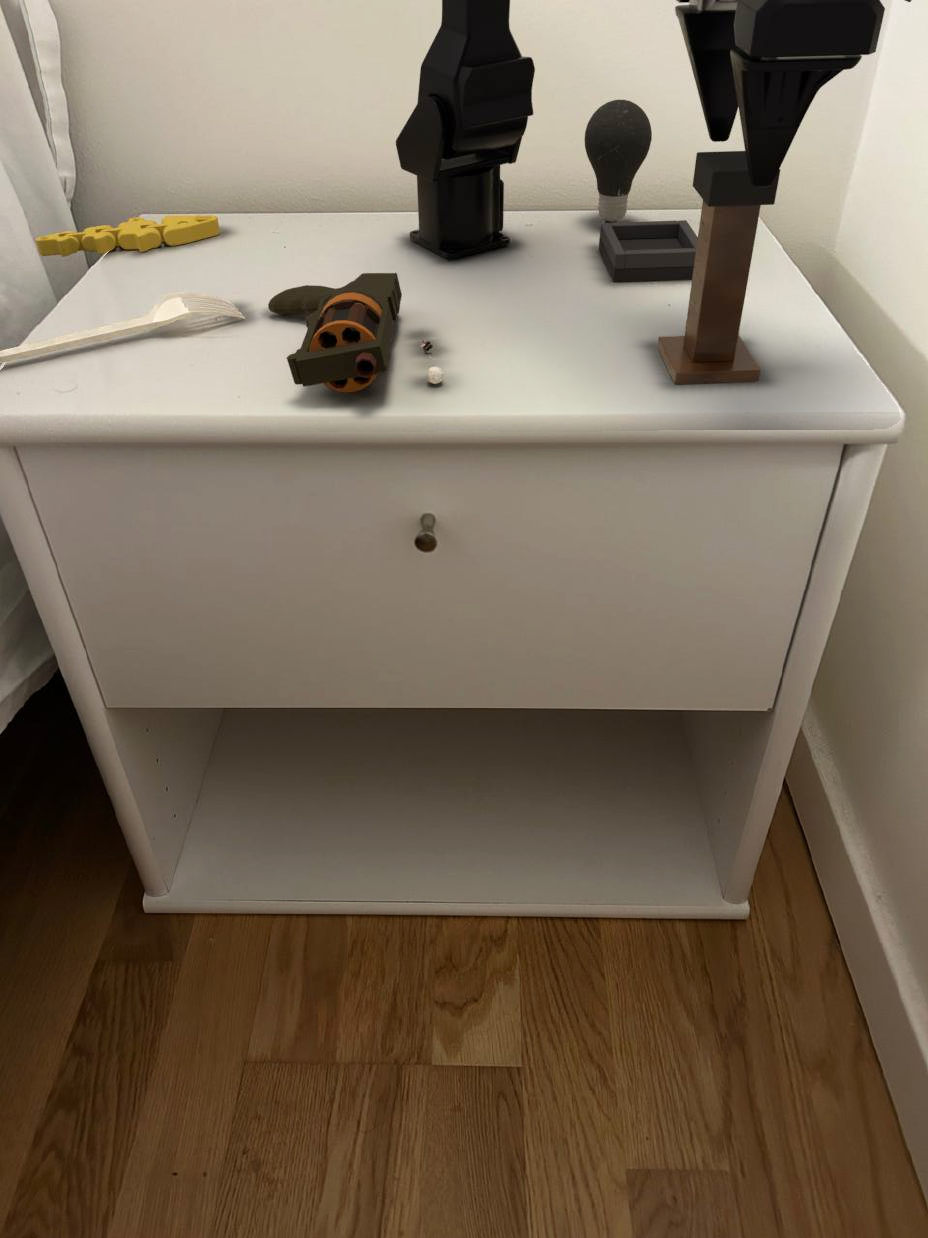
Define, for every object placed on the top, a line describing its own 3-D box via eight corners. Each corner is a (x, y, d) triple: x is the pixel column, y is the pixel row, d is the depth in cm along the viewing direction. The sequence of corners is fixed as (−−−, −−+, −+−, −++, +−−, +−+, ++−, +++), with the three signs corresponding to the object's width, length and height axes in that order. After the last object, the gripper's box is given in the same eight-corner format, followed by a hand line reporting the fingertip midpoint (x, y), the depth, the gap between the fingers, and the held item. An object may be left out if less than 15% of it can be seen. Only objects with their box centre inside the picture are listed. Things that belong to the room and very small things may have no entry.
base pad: (613, 281, 80) (615, 253, 78) (598, 249, 85) (600, 222, 84) (703, 278, 80) (707, 250, 78) (683, 246, 85) (686, 219, 84)
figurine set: (447, 379, 66) (433, 389, 66) (432, 333, 72) (419, 342, 73) (436, 364, 65) (422, 375, 66) (421, 319, 72) (409, 328, 72)
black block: (707, 207, 60) (712, 171, 58) (692, 185, 63) (696, 151, 61) (774, 204, 60) (780, 169, 59) (755, 183, 63) (761, 149, 62)
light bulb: (653, 229, 88) (667, 104, 82) (594, 237, 87) (603, 111, 81) (626, 209, 93) (637, 89, 86) (569, 217, 91) (576, 95, 85)
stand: (674, 384, 66) (697, 211, 59) (657, 347, 70) (676, 182, 63) (759, 381, 66) (792, 208, 59) (736, 344, 71) (764, 179, 64)
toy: (41, 242, 88) (39, 262, 84) (36, 226, 87) (34, 246, 83) (217, 224, 91) (223, 243, 87) (215, 208, 90) (220, 227, 86)
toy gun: (215, 357, 61) (375, 327, 60) (263, 267, 75) (394, 241, 74) (239, 426, 64) (393, 399, 63) (282, 327, 78) (408, 303, 77)
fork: (-44, 371, 66) (-34, 395, 68) (244, 298, 73) (247, 321, 75) (-54, 347, 68) (-44, 372, 70) (228, 279, 75) (232, 302, 77)
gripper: (1042, -166, 43) (937, 208, 53) (877, -180, 58) (819, 117, 68) (786, -161, 43) (729, 215, 53) (684, -176, 57) (655, 122, 67)
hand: (738, 161), depth 60 cm, fingers open, 9 cm apart
